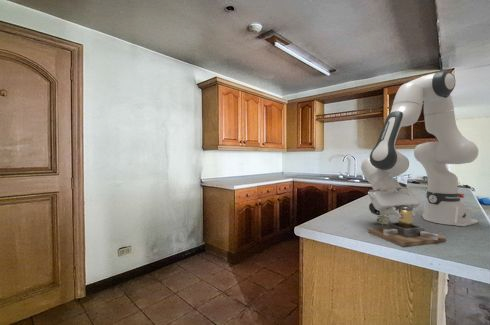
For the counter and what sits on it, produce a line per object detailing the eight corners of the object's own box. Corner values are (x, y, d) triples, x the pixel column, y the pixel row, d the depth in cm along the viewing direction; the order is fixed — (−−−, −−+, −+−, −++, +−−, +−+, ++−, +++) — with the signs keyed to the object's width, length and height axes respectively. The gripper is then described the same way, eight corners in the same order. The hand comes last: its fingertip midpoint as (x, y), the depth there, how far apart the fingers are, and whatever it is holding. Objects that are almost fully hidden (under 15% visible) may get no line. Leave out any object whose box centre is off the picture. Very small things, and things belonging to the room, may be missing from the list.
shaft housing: (406, 228, 101) (406, 218, 101) (449, 242, 85) (449, 230, 85) (368, 232, 97) (368, 221, 97) (405, 248, 80) (406, 235, 80)
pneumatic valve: (398, 224, 107) (398, 198, 107) (375, 225, 106) (375, 199, 105) (389, 221, 113) (389, 196, 112) (367, 222, 111) (367, 197, 111)
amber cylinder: (404, 227, 94) (405, 205, 94) (415, 230, 90) (415, 207, 89) (395, 228, 93) (396, 205, 92) (405, 231, 88) (406, 208, 88)
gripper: (370, 185, 95) (390, 215, 86) (409, 183, 100) (432, 211, 91) (362, 194, 99) (380, 223, 90) (400, 192, 104) (421, 219, 95)
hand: (406, 217), depth 90 cm, fingers closed on amber cylinder, 4 cm apart
